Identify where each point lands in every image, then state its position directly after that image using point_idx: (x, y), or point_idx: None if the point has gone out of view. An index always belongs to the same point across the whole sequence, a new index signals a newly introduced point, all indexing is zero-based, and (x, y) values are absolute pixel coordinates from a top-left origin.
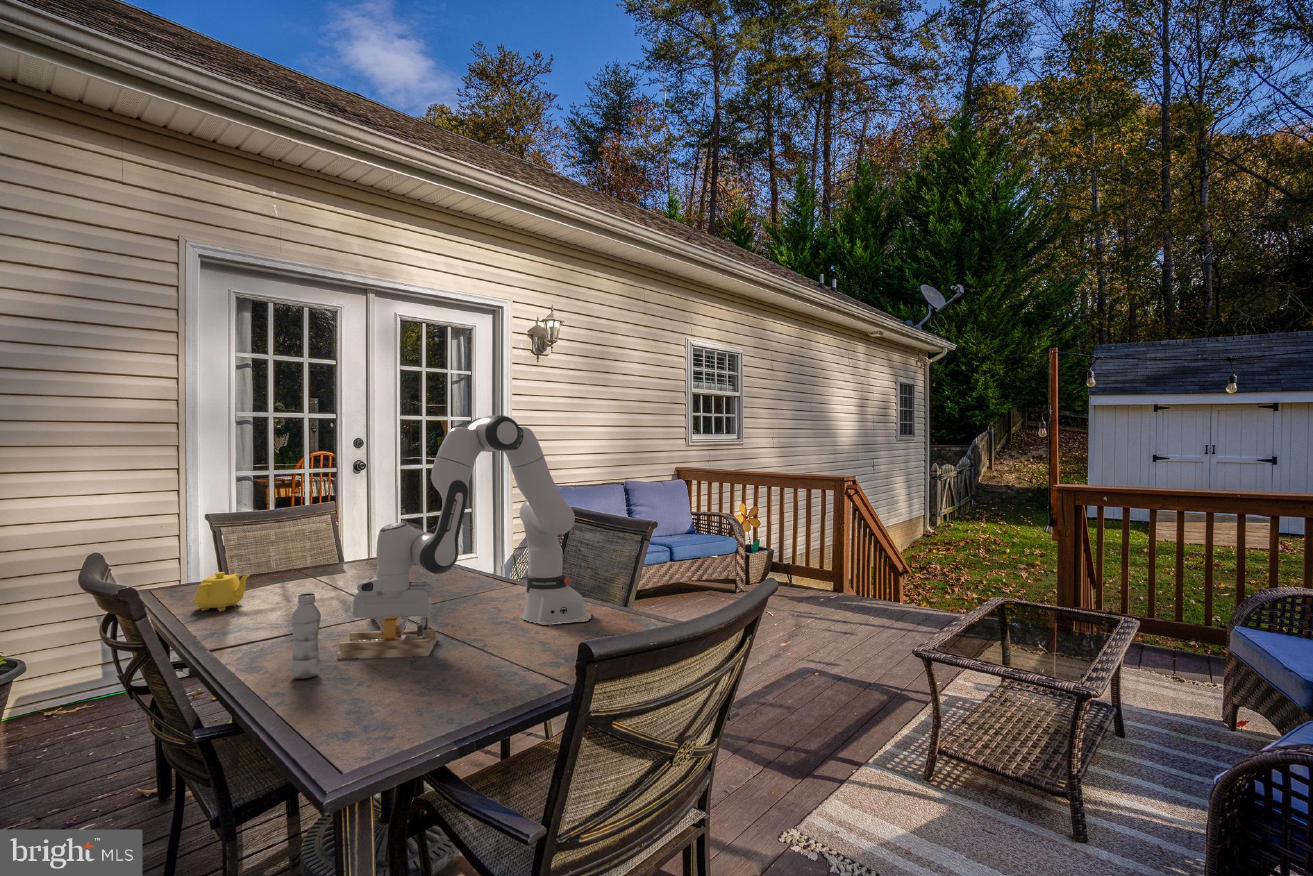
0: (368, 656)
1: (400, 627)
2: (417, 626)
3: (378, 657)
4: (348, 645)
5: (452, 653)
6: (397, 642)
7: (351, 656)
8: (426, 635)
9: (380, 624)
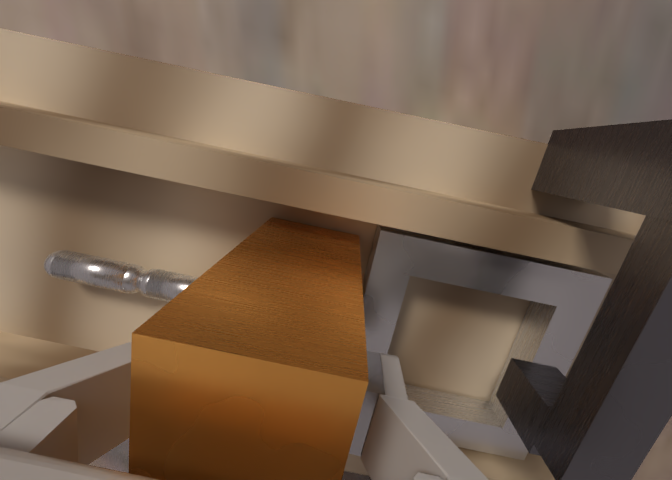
0: None
1: (361, 449)
2: (551, 472)
3: None
4: None
5: (643, 467)
6: None
7: None
8: (580, 328)
9: (111, 442)
